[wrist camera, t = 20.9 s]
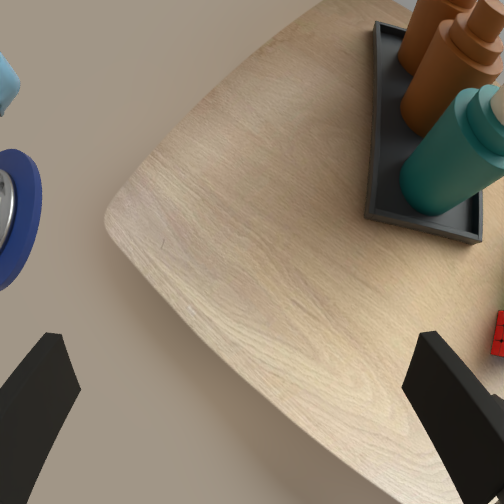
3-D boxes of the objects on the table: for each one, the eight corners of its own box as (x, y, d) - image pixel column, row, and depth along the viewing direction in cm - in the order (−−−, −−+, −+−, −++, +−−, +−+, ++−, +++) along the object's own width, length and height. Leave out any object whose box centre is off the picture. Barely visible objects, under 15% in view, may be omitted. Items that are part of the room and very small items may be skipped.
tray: (363, 218, 30) (368, 212, 28) (372, 30, 33) (375, 20, 31) (472, 245, 28) (482, 241, 26) (456, 57, 32) (461, 49, 30)
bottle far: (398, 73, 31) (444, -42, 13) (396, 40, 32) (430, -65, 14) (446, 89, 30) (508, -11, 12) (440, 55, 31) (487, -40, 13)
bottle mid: (400, 131, 30) (470, 9, 12) (399, 86, 31) (450, -32, 13) (452, 147, 29) (541, 49, 11) (448, 102, 30) (515, 1, 12)
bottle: (396, 208, 29) (502, 108, 11) (400, 148, 30) (478, 28, 12) (453, 222, 28) (576, 152, 10) (453, 165, 29) (551, 70, 11)
